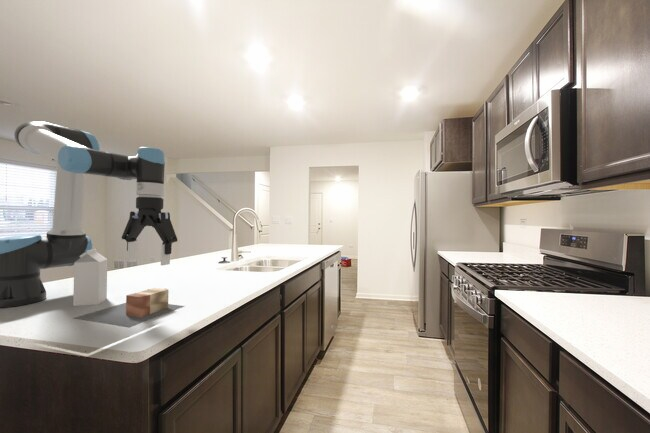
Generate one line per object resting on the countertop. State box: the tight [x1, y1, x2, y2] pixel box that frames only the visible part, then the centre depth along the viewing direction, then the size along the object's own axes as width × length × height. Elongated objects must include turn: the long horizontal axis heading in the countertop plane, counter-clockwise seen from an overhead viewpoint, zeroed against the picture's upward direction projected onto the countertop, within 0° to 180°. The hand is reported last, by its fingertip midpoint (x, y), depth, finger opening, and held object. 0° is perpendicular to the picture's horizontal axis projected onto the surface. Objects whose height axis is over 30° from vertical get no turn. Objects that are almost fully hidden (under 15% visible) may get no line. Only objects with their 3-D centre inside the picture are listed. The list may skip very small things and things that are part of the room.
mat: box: [73, 302, 185, 328], centre depth 91 cm, size 22×20×1 cm
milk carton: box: [72, 248, 108, 307], centre depth 101 cm, size 7×7×19 cm
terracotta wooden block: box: [125, 287, 169, 317], centre depth 92 cm, size 10×6×6 cm, turn 163°
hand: (148, 263), depth 92 cm, fingers open, 13 cm apart
